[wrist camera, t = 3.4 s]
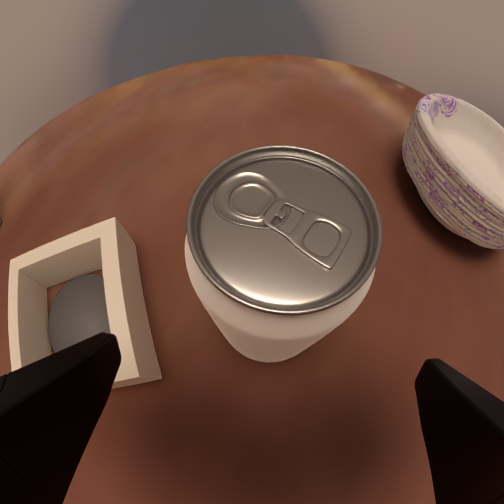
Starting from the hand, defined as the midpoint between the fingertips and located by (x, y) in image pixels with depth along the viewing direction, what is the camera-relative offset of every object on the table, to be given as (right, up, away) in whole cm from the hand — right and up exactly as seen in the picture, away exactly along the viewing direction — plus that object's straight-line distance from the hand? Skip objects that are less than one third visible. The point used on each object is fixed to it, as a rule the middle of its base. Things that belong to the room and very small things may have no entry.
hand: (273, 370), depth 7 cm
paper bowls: (+20, +9, +16) cm, 27 cm away
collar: (-13, -2, +11) cm, 17 cm away
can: (+1, -1, +12) cm, 12 cm away
